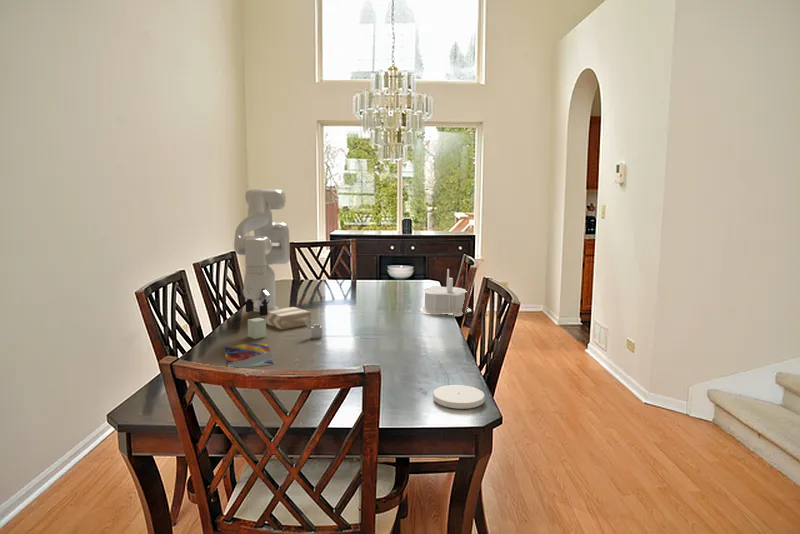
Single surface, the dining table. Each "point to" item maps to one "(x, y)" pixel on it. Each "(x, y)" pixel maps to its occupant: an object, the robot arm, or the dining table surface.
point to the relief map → (249, 355)
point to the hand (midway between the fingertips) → (256, 313)
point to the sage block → (256, 328)
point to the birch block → (287, 317)
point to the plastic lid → (458, 396)
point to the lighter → (314, 329)
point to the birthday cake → (444, 299)
